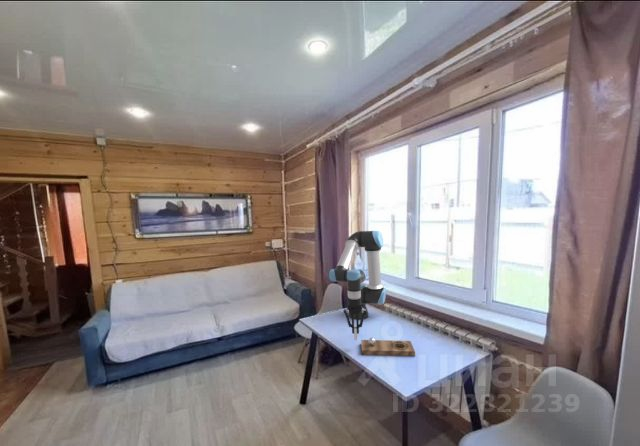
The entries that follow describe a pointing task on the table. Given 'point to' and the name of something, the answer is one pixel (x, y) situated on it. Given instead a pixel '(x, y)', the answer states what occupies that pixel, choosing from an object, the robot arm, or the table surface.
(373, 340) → the ball
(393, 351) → the board
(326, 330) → the table surface
